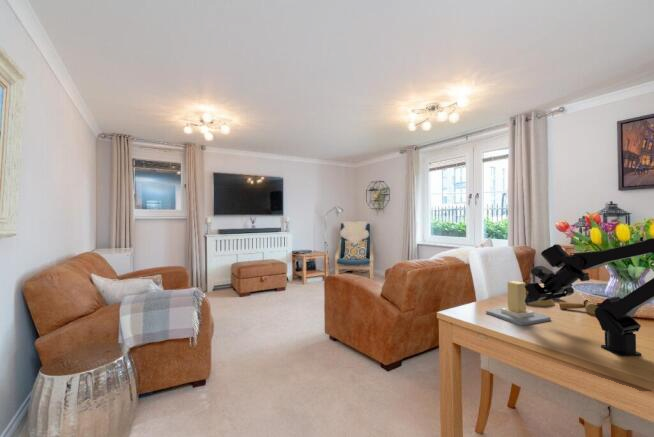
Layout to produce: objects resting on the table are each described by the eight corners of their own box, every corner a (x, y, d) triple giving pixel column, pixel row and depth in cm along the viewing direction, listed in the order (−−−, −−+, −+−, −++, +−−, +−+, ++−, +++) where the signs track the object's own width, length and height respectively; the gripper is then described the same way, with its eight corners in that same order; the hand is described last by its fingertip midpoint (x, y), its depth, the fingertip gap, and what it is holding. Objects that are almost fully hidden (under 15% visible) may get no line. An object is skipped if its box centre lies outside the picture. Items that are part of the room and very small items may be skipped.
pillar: (526, 314, 121) (525, 283, 121) (518, 316, 119) (517, 284, 119) (516, 311, 125) (515, 280, 125) (508, 312, 124) (507, 281, 124)
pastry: (509, 299, 148) (509, 283, 148) (539, 298, 148) (539, 282, 148) (527, 307, 135) (527, 289, 135) (560, 306, 135) (560, 289, 135)
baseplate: (550, 320, 117) (550, 313, 117) (521, 325, 112) (520, 318, 112) (513, 308, 132) (513, 302, 132) (486, 313, 127) (486, 307, 127)
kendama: (562, 314, 128) (618, 315, 118) (559, 299, 129) (614, 299, 120) (560, 313, 134) (613, 313, 125) (557, 298, 135) (609, 298, 126)
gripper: (564, 258, 113) (536, 281, 124) (528, 261, 107) (502, 285, 118) (588, 282, 106) (556, 305, 116) (552, 287, 100) (522, 311, 110)
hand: (534, 300), depth 115 cm, fingers open, 9 cm apart
